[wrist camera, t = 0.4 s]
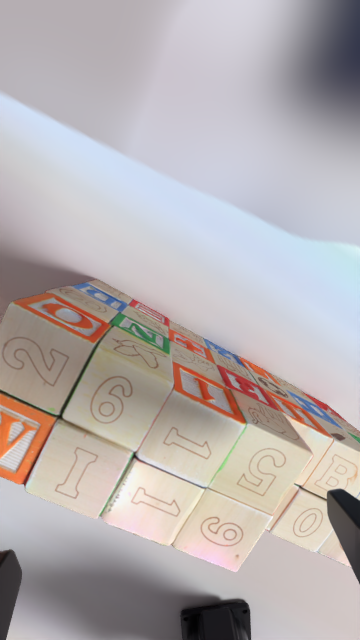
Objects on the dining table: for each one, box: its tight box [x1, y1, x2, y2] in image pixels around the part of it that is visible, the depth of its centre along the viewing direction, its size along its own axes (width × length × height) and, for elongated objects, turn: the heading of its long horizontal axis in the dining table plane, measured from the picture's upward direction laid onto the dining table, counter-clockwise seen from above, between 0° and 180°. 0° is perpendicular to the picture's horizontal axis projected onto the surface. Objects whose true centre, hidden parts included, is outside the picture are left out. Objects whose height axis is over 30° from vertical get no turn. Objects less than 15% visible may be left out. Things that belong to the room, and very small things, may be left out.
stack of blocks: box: [0, 279, 360, 572], centre depth 17 cm, size 21×6×12 cm, turn 61°
